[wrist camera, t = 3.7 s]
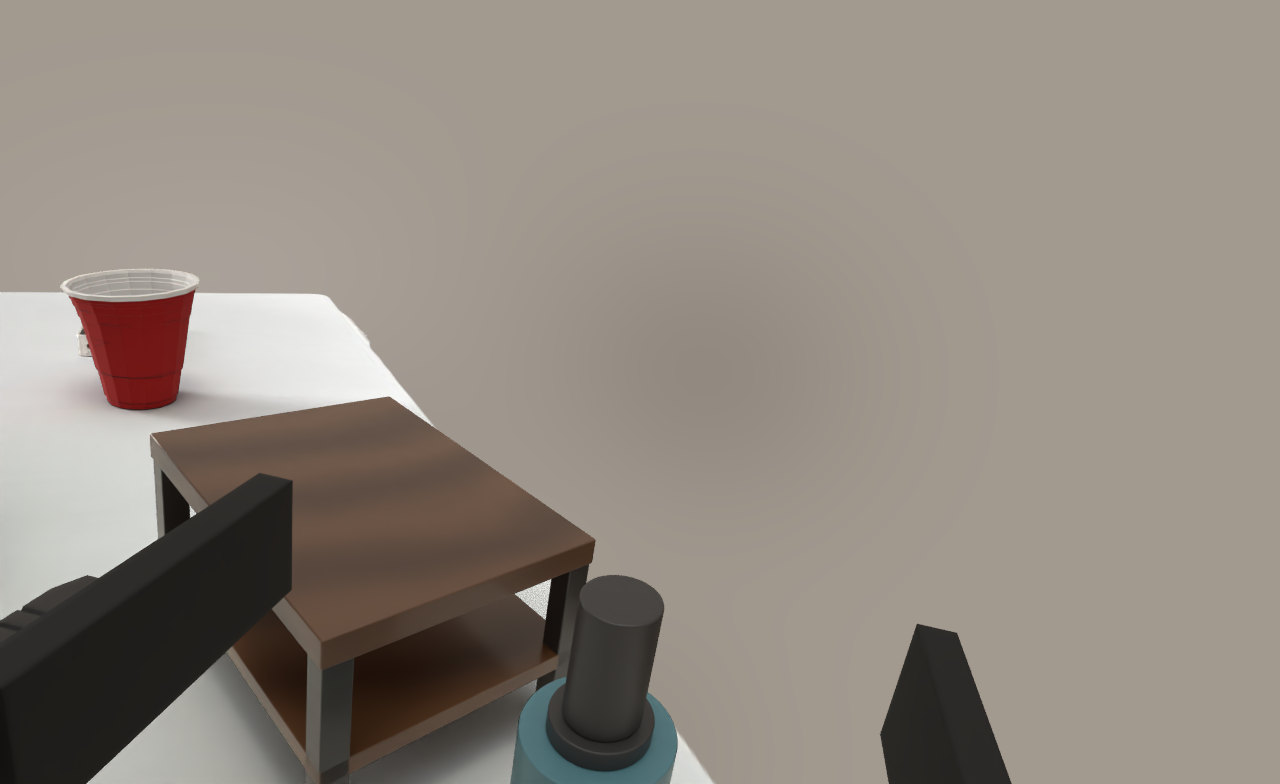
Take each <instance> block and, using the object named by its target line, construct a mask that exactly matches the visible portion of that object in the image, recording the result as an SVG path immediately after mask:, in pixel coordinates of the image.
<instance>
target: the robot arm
mask: <svg viewBox="0 0 1280 784" xmlns="http://www.w3.org/2000/svg"><path fill="white" fill-rule="evenodd" d="M292 504H293V480H289V479H284V478H280V477H276V476H271V475H267V474H263V473H258V474H257V475H255V476H254V477H252V478H251V479H249V480H248V481H246V482H245V483H243V484H242V485H240V486H238V487H237V488H235V489H234V490H232V491H231V492H229V493H228V494H226V495H225V496H223V497H222V498H220V499H219V500H217V501H216V502H214V503H213V504H211V505H210V506H208V507H206V508H205V509H203V510H202V511H200V512H199V513H197V514H196V515H194V516H193V517H191V518H190V519H188V520H187V521H185V522H184V523H182V524H181V525H179V526H178V527H176V528H175V529H173V530H171V531H170V532H168V533H167V534H165V535H164V536H162V537H161V538H159V539H158V540H156V541H155V542H153V543H152V544H150V545H149V546H147V547H146V548H144V549H143V550H141V551H139V552H138V553H136V554H135V555H133V556H132V557H130V558H129V559H127V560H126V561H124V562H123V563H121V564H120V565H118V566H117V567H115V568H114V569H112V570H111V571H109V572H107V573H106V574H104V575H103V576H101V577H100V578H96V577H92V576H88V575H87V576H84V577H81V578H79V579H76V580H73V581H71V582H68V583H65V584H62V585H60V586H57V587H54V588H52V589H50V590H48V591H47V592H45V593H44V594H42V595H41V596H39V597H37V598H36V599H34V600H33V601H31V602H29V603H28V604H26V605H25V606H23V608H22V610H21V611H18V610H17V611H15V612H13V613H12V614H10V615H9V616H7V617H5V618H4V619H2V620H1V621H0V784H86V783H87V782H88V781H90V780H91V779H92V778H93V777H94V776H95V775H96V774H97V773H98V772H99V771H100V770H101V769H102V768H103V767H104V766H105V765H107V764H108V763H109V762H110V761H111V760H112V759H113V758H114V757H115V756H116V755H117V754H118V753H119V752H120V751H121V750H122V749H123V748H125V747H126V746H127V745H128V744H129V743H130V742H131V741H132V740H133V739H134V738H135V737H136V736H137V735H138V734H139V733H140V732H142V731H143V730H144V729H145V728H146V727H147V726H148V725H149V724H150V723H151V722H152V721H153V720H154V719H155V718H156V717H157V716H159V715H160V714H161V713H162V712H163V711H164V710H165V709H166V708H167V707H168V706H169V705H170V704H171V703H172V702H173V701H174V700H176V699H177V698H178V697H179V696H180V695H181V694H182V693H183V692H184V691H185V690H186V689H187V688H188V687H189V686H190V685H191V684H192V683H194V682H195V681H196V680H197V679H198V678H199V677H200V676H201V675H202V674H203V673H204V672H205V671H206V670H207V669H208V668H209V667H211V666H212V665H213V664H214V663H215V662H216V661H217V660H218V659H219V658H220V657H221V656H222V655H223V654H224V653H225V652H226V651H228V650H229V649H230V648H231V647H232V646H233V645H234V644H235V643H236V642H237V641H238V640H239V639H240V638H241V637H242V636H243V635H244V634H246V633H247V632H248V631H249V630H250V629H251V628H252V627H253V626H254V625H255V624H256V623H257V622H258V621H259V620H260V619H261V618H263V617H264V616H265V615H266V614H267V613H268V612H269V611H270V610H271V609H272V608H273V607H274V606H275V605H276V604H277V603H278V602H280V601H281V600H282V599H283V598H284V597H285V596H286V595H287V594H288V593H289V592H290V591H291V590H292ZM880 735H881V741H882V747H883V753H884V758H885V764H886V770H887V775H888V781H889V784H1011V781H1010V778H1009V776H1008V773H1007V770H1006V767H1005V764H1004V762H1003V759H1002V756H1001V753H1000V751H999V748H998V745H997V742H996V740H995V737H994V734H993V731H992V728H991V726H990V723H989V720H988V717H987V715H986V712H985V710H984V706H983V704H982V701H981V698H980V695H979V693H978V690H977V687H976V684H975V682H974V679H973V676H972V674H971V670H970V668H969V665H968V662H967V659H966V657H965V654H964V651H963V648H962V646H961V643H960V640H959V637H958V635H957V633H955V632H951V631H946V630H942V629H937V628H933V627H929V626H924V625H920V624H917V625H916V629H915V631H914V635H913V638H912V641H911V644H910V647H909V650H908V653H907V656H906V659H905V662H904V665H903V668H902V671H901V674H900V677H899V680H898V683H897V686H896V689H895V692H894V695H893V698H892V701H891V704H890V707H889V710H888V713H887V716H886V719H885V722H884V725H883V728H882V731H881V734H880Z"/></svg>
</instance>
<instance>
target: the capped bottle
mask: <svg viewBox="0 0 1280 784" xmlns="http://www.w3.org/2000/svg"><path fill="white" fill-rule="evenodd" d="M663 613H664V603H663V600H662V598H661V596H660V594H659V593H658V592H657V591H656V590H655V589H654V588H653V587H651V586H650V585H648V584H647V583H645V582H643V581H640V580H638V579H635V578H631V577H627V576H619V575H607V576H601V577H597V578H595V579H593V580H591V581H589V582H587V583H586V584H585V585H584V586H583V588H582V589H581V591H580V595H579V601H578V607H577V613H576V620H575V626H574V632H573V639H572V645H571V652H570V658H569V664H568V671H567V677H564V678H561V679H557V680H555V681H553V682H550V683H548V684H547V685H545V686H543V687H542V688H540V689H539V690H538V691H537V692H535V693H534V694H533V695H532V696H531V698H530V699H529V700H528V701H527V703H526V704H525V706H524V708H523V710H522V712H521V715H520V718H519V723H518V731H517V738H516V745H515V753H514V760H513V768H512V775H511V783H510V784H670V780H671V775H672V771H673V766H674V762H675V757H676V752H677V741H678V740H677V733H676V729H675V726H674V723H673V721H672V719H671V717H670V715H669V714H668V712H667V711H666V709H665V708H664V707H663V706H662V704H661V703H660V702H659V701H658V700H656V699H655V698H654V697H653V696H652V695H651V694H649V693H648V687H649V682H650V676H651V671H652V667H653V662H654V657H655V652H656V647H657V642H658V637H659V632H660V627H661V622H662V618H663Z"/></svg>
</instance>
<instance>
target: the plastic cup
mask: <svg viewBox="0 0 1280 784" xmlns="http://www.w3.org/2000/svg"><path fill="white" fill-rule="evenodd" d="M198 283H199V278H198V277H196V276H195V275H193V274H190V273H185V272H180V271H175V270H162V269H124V270H113V271H102V272H96V273H91V274H86V275H80V276H77V277H74V278H71V279H69V280H66V281H64V282H63V284H62V285H61V286H60V287H61V289H62V290H63V291H64V292H65V293H66V294H67V295H68V296H69V298H70V299H71V301H72V303H73V305H74V306H75V308H76V311H77V314H78V316H79V317H80V319H81V322H82V325H83V328H84V332H85V335H86V338H87V341H88V344H89V348H90V351H91V354H92V357H93V360H94V364H95V367H96V369H97V370H98V372H99V376H100V380H101V383H102V387H103V390H104V394H105V395H106V396H107V400H108V401H109V403H110V404H111V405H114V406H116V407H119V408H126V409H151V408H158V407H162V406H165V405H168V404H170V403H172V402H173V401H175V400H176V396H177V394H178V390H179V384H180V376H181V369H182V368H183V363H184V356H185V348H186V340H187V333H188V325H189V318H190V315H191V310H192V303H193V298H194V293H195V289H197V288H198Z"/></svg>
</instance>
